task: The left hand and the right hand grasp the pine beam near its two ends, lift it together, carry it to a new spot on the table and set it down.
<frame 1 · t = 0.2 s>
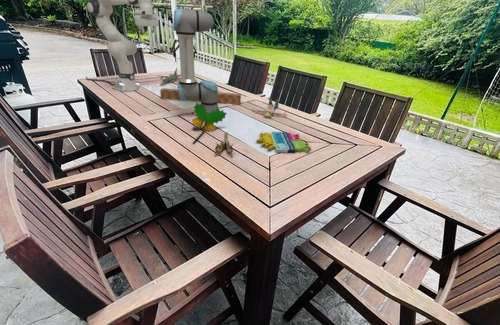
left hand: (148, 33, 198), 48 cm above the table, tool pointing down, fingers open, 8 cm apart
right hand: (184, 62, 211), 28 cm above the table, tool pointing down, fingers open, 13 cm apart
toy: (270, 112, 201), on the table
beam: (201, 100, 216), on the table
sign: (281, 143, 152), on the table
jawbone: (224, 151, 138), on the table
ornament: (209, 128, 165), on the table
airplane: (171, 81, 267), on the table
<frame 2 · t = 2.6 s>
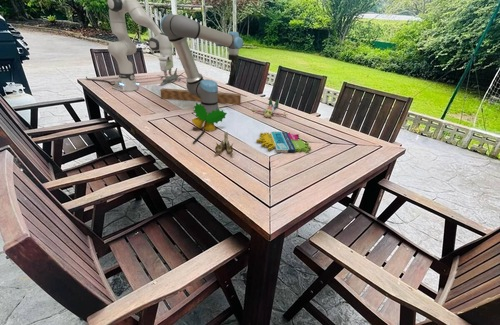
left hand: (168, 75, 207), 19 cm above the table, tool pointing down, fingers open, 8 cm apart
right hand: (232, 83, 208), 16 cm above the table, tool pointing down, fingers open, 13 cm apart
nothing on the table moved.
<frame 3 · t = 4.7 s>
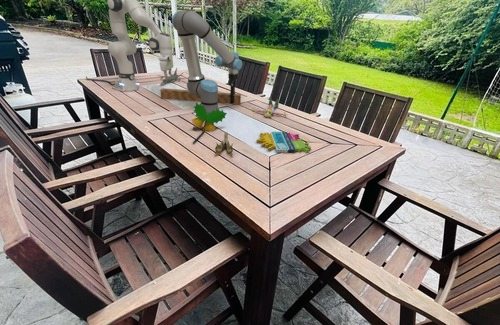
left hand: (168, 75, 207), 19 cm above the table, tool pointing down, fingers open, 8 cm apart
right hand: (232, 102, 215), 0 cm above the table, tool pointing down, fingers closed on beam, 5 cm apart
beam: (201, 100, 216), on the table, touching right hand
everything else where it was.
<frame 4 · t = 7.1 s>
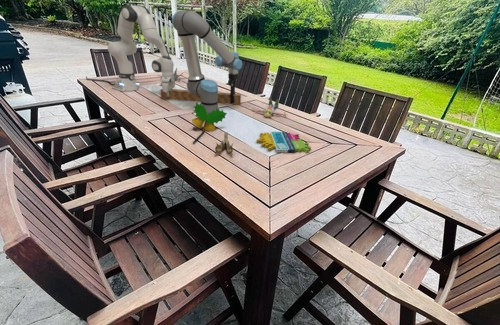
left hand: (169, 95, 214), 3 cm above the table, tool pointing down, fingers closed on beam, 5 cm apart
right hand: (232, 102, 215), 0 cm above the table, tool pointing down, fingers closed on beam, 5 cm apart
beam: (201, 100, 216), on the table, touching right hand, left hand
everything else where it was.
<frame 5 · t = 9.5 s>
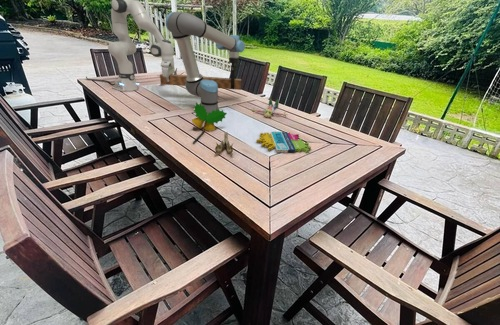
left hand: (169, 80, 212), 14 cm above the table, tool pointing down, fingers closed on beam, 5 cm apart
right hand: (232, 87, 212), 12 cm above the table, tool pointing down, fingers closed on beam, 5 cm apart
beam: (201, 86, 213), point 11 cm above the table, touching right hand, left hand
everything else where it was.
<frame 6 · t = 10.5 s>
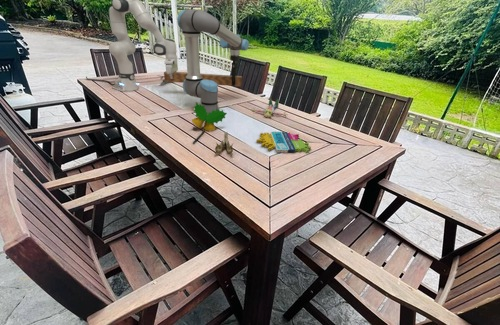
left hand: (173, 78, 221), 14 cm above the table, tool pointing down, fingers closed on beam, 5 cm apart
right hand: (233, 84, 221), 12 cm above the table, tool pointing down, fingers closed on beam, 5 cm apart
beam: (203, 83, 222), point 11 cm above the table, touching right hand, left hand
everything else where it was.
when the right hand's fingers open (1 cm above the table, at t = 14.1 s): beam stays where it is, on the table.
when the left hand's fingers open (4 cm above the table, at t = 14.3 s): beam stays where it is, on the table.
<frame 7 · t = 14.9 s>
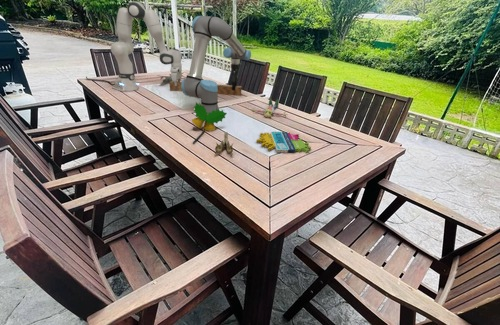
left hand: (177, 84, 238), 5 cm above the table, tool pointing down, fingers open, 8 cm apart
right hand: (234, 88, 237), 5 cm above the table, tool pointing down, fingers open, 13 cm apart
beam: (206, 92, 240), on the table
everything else where it was.
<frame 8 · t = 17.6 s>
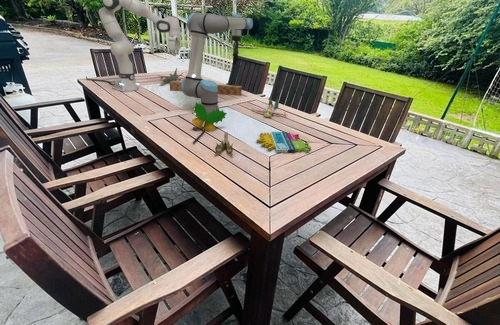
left hand: (175, 55, 225), 30 cm above the table, tool pointing down, fingers open, 8 cm apart
right hand: (235, 62, 226), 28 cm above the table, tool pointing down, fingers open, 13 cm apart
nothing on the table moved.
at the end: beam inside the target area (0.2 cm from its centre), on the table; beam tilted 0°; beam never tilted more than 1° during the clip; both hands held the beam at the same time; the left hand is holding nothing; the right hand is holding nothing; beam at rest at the end (0.0 cm/s) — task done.
